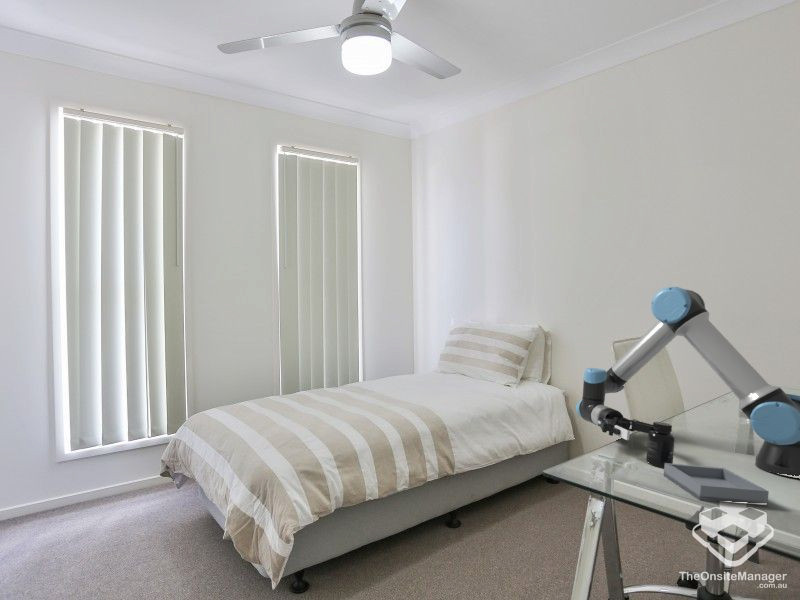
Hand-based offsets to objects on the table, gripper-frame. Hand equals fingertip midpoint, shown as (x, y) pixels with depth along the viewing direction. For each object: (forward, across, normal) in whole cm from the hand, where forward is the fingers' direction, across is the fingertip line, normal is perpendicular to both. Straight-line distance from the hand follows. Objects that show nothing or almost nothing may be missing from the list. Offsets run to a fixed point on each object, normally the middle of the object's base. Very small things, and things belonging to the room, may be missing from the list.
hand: (649, 436), depth 145 cm
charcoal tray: (+23, -1, -7) cm, 24 cm away
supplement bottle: (+5, 0, -7) cm, 8 cm away
